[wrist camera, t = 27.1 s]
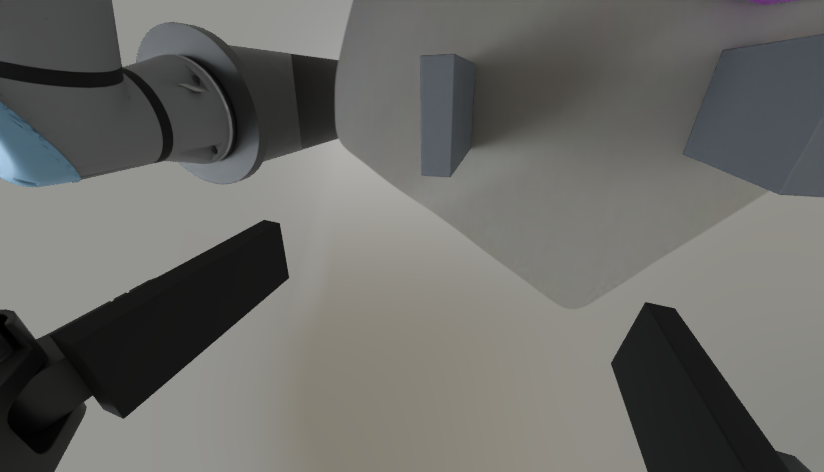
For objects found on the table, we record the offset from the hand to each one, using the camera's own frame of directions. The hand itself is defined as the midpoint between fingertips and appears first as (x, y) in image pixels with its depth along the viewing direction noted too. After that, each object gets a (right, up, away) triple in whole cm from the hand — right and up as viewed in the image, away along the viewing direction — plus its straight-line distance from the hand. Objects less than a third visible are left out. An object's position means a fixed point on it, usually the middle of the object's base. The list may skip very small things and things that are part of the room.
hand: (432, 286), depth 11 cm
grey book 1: (+5, +17, +23) cm, 29 cm away
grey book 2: (+28, +14, +17) cm, 35 cm away
